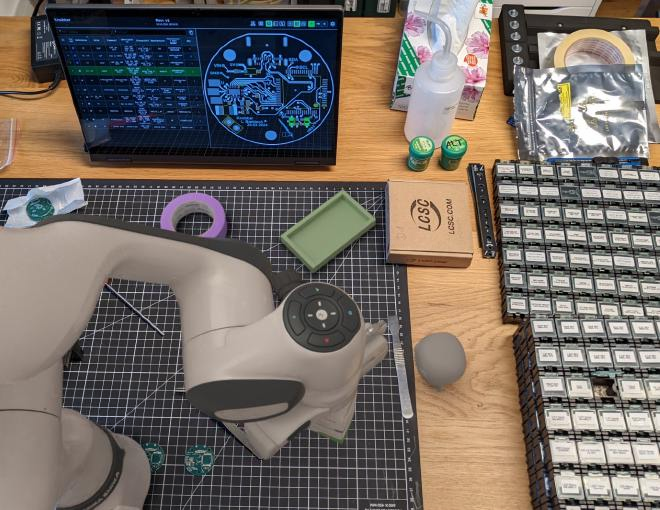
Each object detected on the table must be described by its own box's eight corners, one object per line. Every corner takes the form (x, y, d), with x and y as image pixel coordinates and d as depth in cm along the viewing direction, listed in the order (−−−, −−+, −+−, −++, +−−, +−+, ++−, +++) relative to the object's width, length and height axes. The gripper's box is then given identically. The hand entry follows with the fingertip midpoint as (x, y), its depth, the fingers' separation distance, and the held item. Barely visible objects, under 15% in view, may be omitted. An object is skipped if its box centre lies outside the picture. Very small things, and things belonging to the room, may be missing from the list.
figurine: (403, 357, 104) (412, 330, 94) (447, 350, 105) (461, 322, 94) (414, 404, 100) (425, 381, 90) (459, 397, 101) (475, 373, 90)
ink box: (355, 412, 85) (361, 386, 75) (341, 446, 83) (344, 424, 73) (299, 387, 87) (297, 358, 77) (283, 419, 85) (279, 394, 74)
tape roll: (206, 193, 120) (203, 181, 117) (239, 234, 116) (237, 223, 112) (153, 224, 116) (148, 213, 113) (185, 268, 112) (181, 257, 109)
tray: (313, 273, 112) (313, 268, 110) (280, 241, 115) (280, 235, 113) (375, 224, 117) (376, 219, 115) (342, 195, 120) (342, 189, 118)
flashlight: (270, 287, 110) (267, 273, 106) (297, 276, 111) (296, 261, 107) (305, 362, 103) (304, 350, 99) (334, 349, 105) (334, 337, 100)
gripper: (368, 297, 74) (361, 340, 86) (230, 410, 67) (243, 440, 79) (406, 335, 71) (393, 373, 83) (267, 455, 64) (275, 479, 76)
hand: (319, 406), depth 81 cm, fingers closed on ink box, 6 cm apart
